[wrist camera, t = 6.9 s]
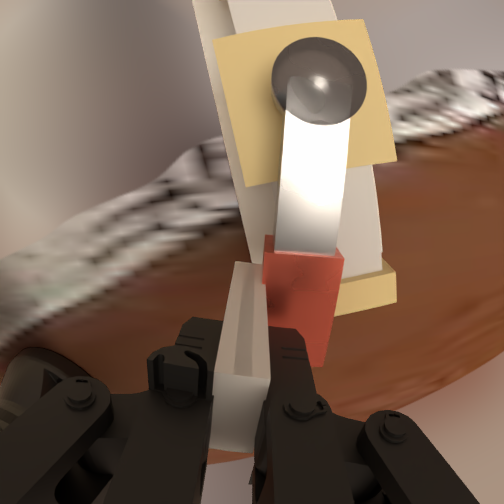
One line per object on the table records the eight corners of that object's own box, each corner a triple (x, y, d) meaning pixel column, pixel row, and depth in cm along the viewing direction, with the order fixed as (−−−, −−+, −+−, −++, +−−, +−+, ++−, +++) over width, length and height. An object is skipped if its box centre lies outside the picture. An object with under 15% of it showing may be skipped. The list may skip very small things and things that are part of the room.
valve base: (256, 269, 23) (249, 346, 14) (196, 6, 17) (156, -64, 8) (375, 245, 22) (436, 305, 13) (318, -14, 16) (346, -90, 7)
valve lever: (319, 336, 13) (327, 366, 11) (251, 332, 14) (249, 363, 11) (352, 60, 10) (369, 44, 8) (273, 50, 10) (274, 29, 8)
